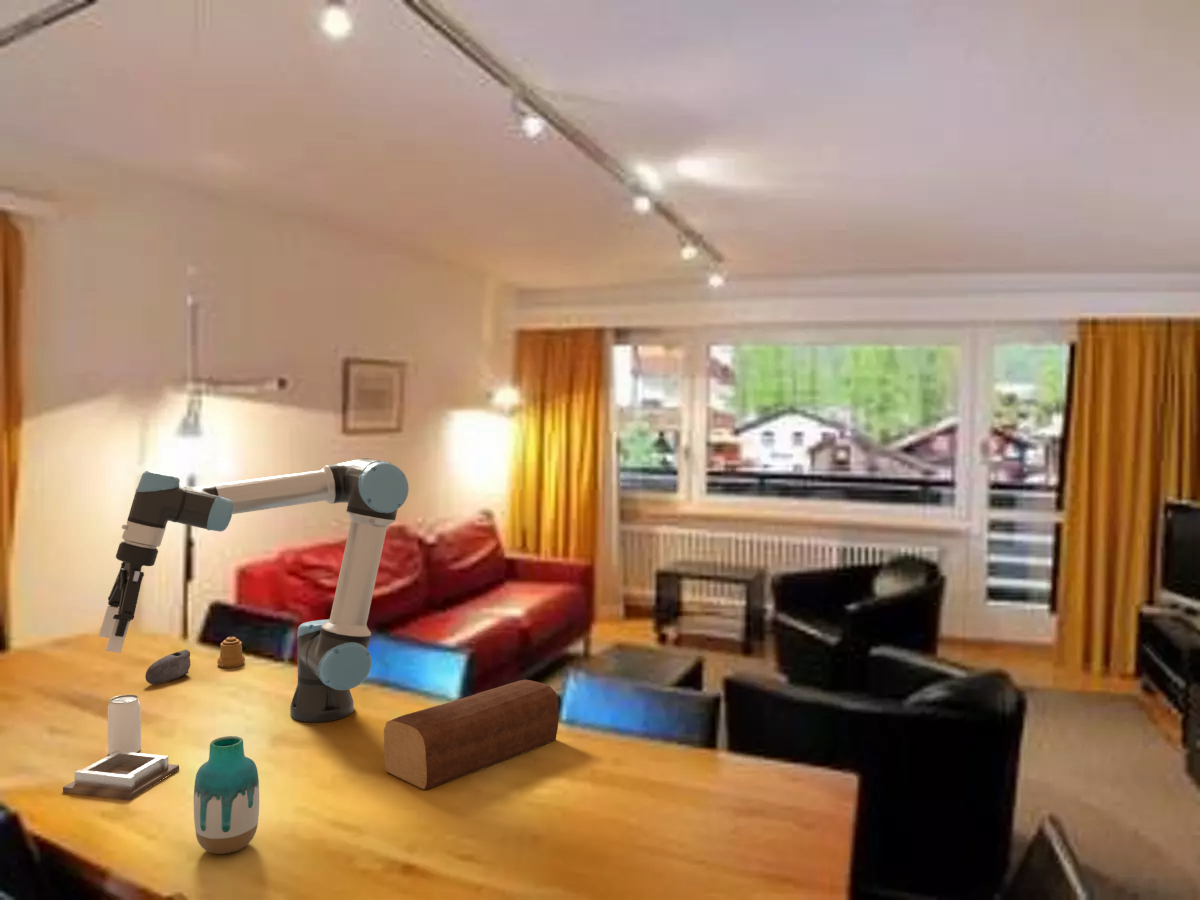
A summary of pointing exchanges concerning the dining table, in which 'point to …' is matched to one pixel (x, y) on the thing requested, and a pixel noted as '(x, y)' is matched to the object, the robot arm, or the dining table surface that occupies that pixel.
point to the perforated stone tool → (169, 667)
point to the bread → (470, 733)
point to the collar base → (118, 792)
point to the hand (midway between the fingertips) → (109, 644)
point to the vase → (226, 797)
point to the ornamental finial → (231, 653)
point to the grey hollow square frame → (100, 778)
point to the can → (124, 724)
